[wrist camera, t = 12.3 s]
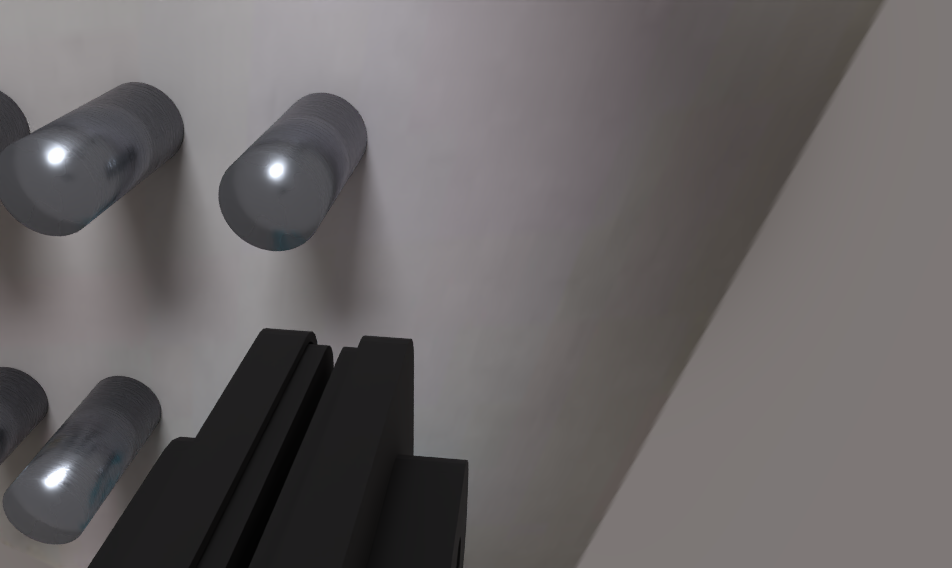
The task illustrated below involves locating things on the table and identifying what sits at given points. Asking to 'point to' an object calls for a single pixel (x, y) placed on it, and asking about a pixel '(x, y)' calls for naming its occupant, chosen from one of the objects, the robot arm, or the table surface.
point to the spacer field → (88, 195)
